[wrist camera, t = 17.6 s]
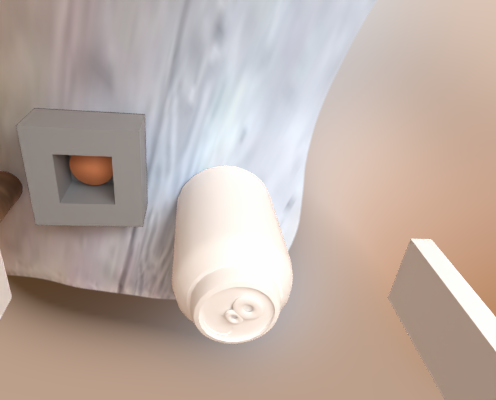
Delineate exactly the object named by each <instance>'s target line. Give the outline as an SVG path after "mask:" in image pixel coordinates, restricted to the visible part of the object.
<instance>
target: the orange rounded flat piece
mask: <svg viewBox="0 0 496 400" xmlns="http://www.w3.org/2000/svg"><path fill="white" fill-rule="evenodd" d="M69 166H70V170H71V172H72V174H73V175H74V176H75V177H76V178H77V179H78V180H79V181H81V182H83V183H85V184H88V185H101V184H104V183H106V182H107V181H109V180H110V179H111V177H112V176H113V168H112V157H107V156H82V155H72V156H71V158H70V162H69Z"/></svg>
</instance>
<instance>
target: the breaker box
mask: <svg viewBox="0 0 496 400" xmlns="http://www.w3.org/2000/svg"><path fill="white" fill-rule="evenodd" d="M16 127H17V132H18V137H19V142H20V147H21V152H22V158H23V163H24V168H25V173H26V178H27V183H28V188H29V193H30V198H31V203H32V208H33V213H34V218H35V223H36V225H64V226H126V227H143V225H144V219H145V214H146V209H147V204H148V200H147V167H146V135H145V114H130V113H112V112H94V111H76V110H58V109H40V108H34V109H33V110H32V111H31V112H30V113H29V114H28V115H27V116H26V117H25V118H24V119H23V120H22V121H20V122H19V123H18V124H17V125H16ZM72 155H82V156H107V157H112V168H113V176H112V177H111V179H110V180H109V181H107V182H106V183H104V184H101V185H88V184H85V183H83V182H81V181H79V180H78V179H77V178H76V177H75V176H74V175H73V174H72V172H71V170H70V166H69V162H70V158H71V156H72Z"/></svg>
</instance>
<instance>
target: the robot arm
mask: <svg viewBox="0 0 496 400" xmlns="http://www.w3.org/2000/svg"><path fill="white" fill-rule="evenodd" d="M11 298H12V295H11V291H10V288H9V283H8V279H7V275H6V271H5V267H4V263H3V259H2V255H1V251H0V319H1V317H2V315H3V313H4V311H5V309H6V307H7V305H8V304H9V302H10V300H11ZM388 299H389V301H390V303H391V305H392V306H393V308H394V310H395V312H396V314H397V315H398V317H399V319H400V321H401V322H402V324H403V326H404V328H405V330H406V331H407V333H408V335H409V337H410V339H411V341H412V342H413V344H414V346H415V348H416V349H417V351H418V353H419V355H420V357H421V358H422V360H423V362H424V364H425V366H426V367H427V369H428V371H429V373H430V375H431V376H432V378H433V380H434V382H435V383H436V385H437V387H438V389H439V391H440V392H441V394H442V396H443V398H444V399H445V400H496V317H495V316H494V315H493V313H492V312H491V311H490V310H489V308H488V307H487V306H486V305H485V304H484V302H483V301H482V300H481V299H480V298H479V296H478V295H477V294H476V293H475V292H474V291H473V289H472V288H471V287H470V286H469V284H468V283H467V282H466V281H465V279H464V278H463V277H462V276H461V275H460V274H459V272H458V271H457V270H456V269H455V267H454V266H453V265H452V264H451V263H450V261H449V260H448V259H447V258H446V256H445V255H444V254H443V253H442V252H441V250H440V249H439V248H438V247H437V246H436V244H435V243H434V242H433V241H432V239H410V242H409V245H408V247H407V250H406V252H405V255H404V257H403V260H402V263H401V265H400V268H399V270H398V273H397V275H396V278H395V281H394V283H393V286H392V288H391V291H390V294H389V296H388Z"/></svg>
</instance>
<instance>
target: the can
mask: <svg viewBox="0 0 496 400" xmlns="http://www.w3.org/2000/svg"><path fill="white" fill-rule="evenodd" d="M292 280H293V273H292V266H291V260H290V257H289V254H288V251H287V248H286V245H285V241H284V238H283V235H282V232H281V229H280V226H279V223H278V219H277V216H276V213H275V210H274V207H273V204H272V201H271V197H270V194H269V192H268V190H267V188H266V187H265V185H264V183H263V182H262V181H261V180H260V179H259V178H258V177H256V176H255V175H254V174H253V173H252V172H249V171H247V170H244V169H242V168H239V167H235V166H224V165H222V166H217V167H212V168H207V169H205V170H204V171H202V172H200V173H198V174H196V175H194V176H193V177H192V178H191V179H190V180H189V181H188V182H187V183H186V184H185V185H184V186H183V188H182V190H181V192H180V194H179V197H178V200H177V213H176V228H175V242H174V257H173V271H172V289H173V291H174V294H175V297H176V300H177V303H178V305H179V308H180V310H181V311H182V312H183V313H184V314H185V315H186V317H187V318H188V319H189V320H191V321H192V322H194V324H195V325H196V327H197V328H198V329H199V331H200V332H201V333H202V334H203V335H204V336H206V337H208V338H210V339H212V340H213V341H217V342H222V343H233V344H234V343H236V344H237V343H243V342H248V341H252V340H254V339H256V338H258V337H260V336H262V335H264V334H265V333H266V332H267V331H269V330H270V329H271V328H272V327H273V325H274V324H275V323H276V321H277V319H278V316H279V313H280V311H281V309H282V308H283V306H284V305H285V304H286V302H287V301H288V299H289V295H290V292H291V288H292Z"/></svg>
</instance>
